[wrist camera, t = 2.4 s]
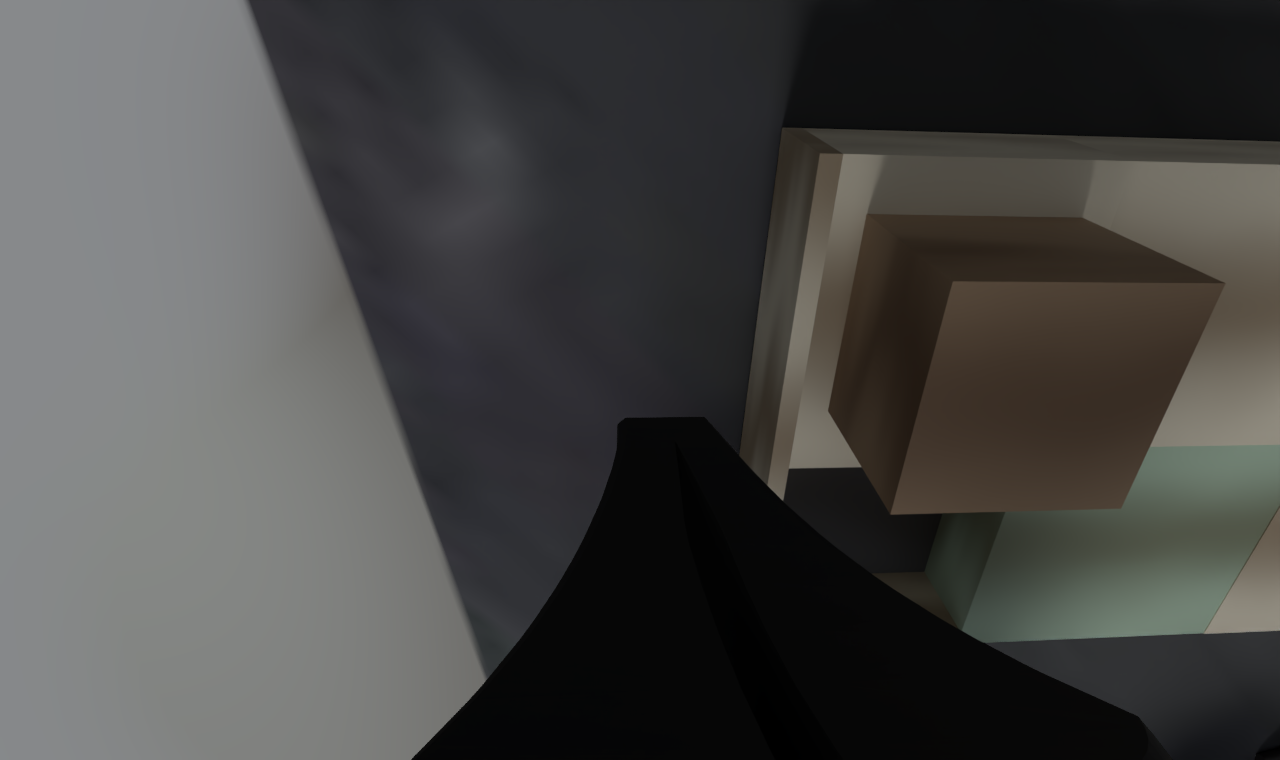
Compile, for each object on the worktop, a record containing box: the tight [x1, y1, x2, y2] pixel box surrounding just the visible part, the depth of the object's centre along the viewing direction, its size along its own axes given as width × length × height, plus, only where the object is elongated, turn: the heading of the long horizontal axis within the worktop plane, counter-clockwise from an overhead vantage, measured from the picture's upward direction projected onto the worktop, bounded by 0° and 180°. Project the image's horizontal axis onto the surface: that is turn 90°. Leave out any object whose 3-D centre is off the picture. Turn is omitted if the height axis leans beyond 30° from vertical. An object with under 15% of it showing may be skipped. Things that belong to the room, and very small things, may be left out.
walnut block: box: [828, 214, 1226, 515], centre depth 15 cm, size 5×5×4 cm
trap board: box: [739, 128, 1280, 643], centre depth 21 cm, size 15×22×3 cm, turn 88°
